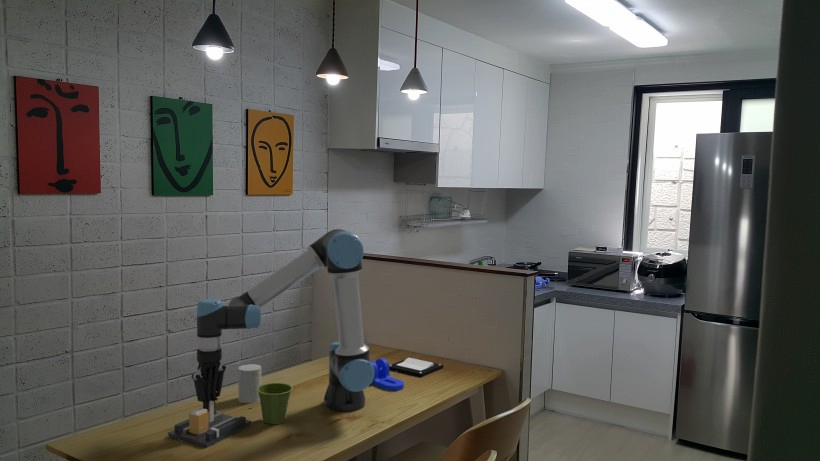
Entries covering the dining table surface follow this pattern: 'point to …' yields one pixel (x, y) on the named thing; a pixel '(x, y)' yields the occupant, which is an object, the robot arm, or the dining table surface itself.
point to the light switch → (415, 367)
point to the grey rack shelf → (215, 431)
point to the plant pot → (274, 401)
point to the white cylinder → (249, 383)
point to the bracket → (385, 376)
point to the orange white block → (198, 421)
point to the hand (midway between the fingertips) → (208, 420)
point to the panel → (201, 437)
